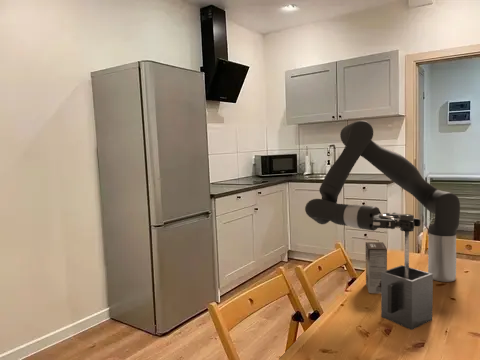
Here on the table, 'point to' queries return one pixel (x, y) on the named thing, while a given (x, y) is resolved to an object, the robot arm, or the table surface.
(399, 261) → the table surface
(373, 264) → the coffee box
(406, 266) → the plunger
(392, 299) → the box
